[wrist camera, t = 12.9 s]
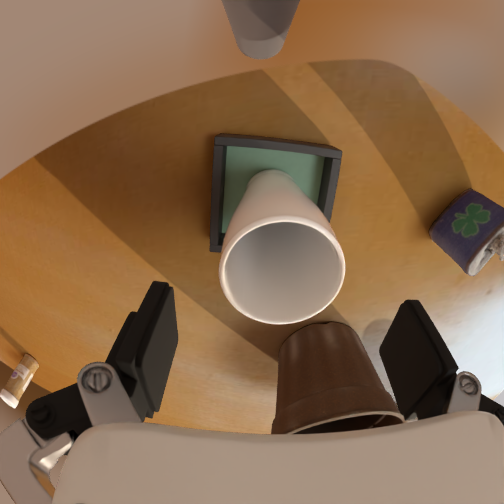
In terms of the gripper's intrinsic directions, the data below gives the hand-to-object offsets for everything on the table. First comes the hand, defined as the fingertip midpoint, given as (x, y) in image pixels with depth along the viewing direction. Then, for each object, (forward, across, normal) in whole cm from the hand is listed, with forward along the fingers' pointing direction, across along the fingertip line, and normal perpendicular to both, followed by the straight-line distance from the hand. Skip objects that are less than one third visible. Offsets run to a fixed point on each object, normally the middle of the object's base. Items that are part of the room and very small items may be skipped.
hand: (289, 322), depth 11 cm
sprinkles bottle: (+19, +49, +41) cm, 66 cm away
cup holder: (+20, 0, +1) cm, 20 cm away
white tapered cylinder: (+19, 0, +1) cm, 19 cm away
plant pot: (+19, -10, +23) cm, 32 cm away
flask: (+20, -23, 0) cm, 30 cm away
